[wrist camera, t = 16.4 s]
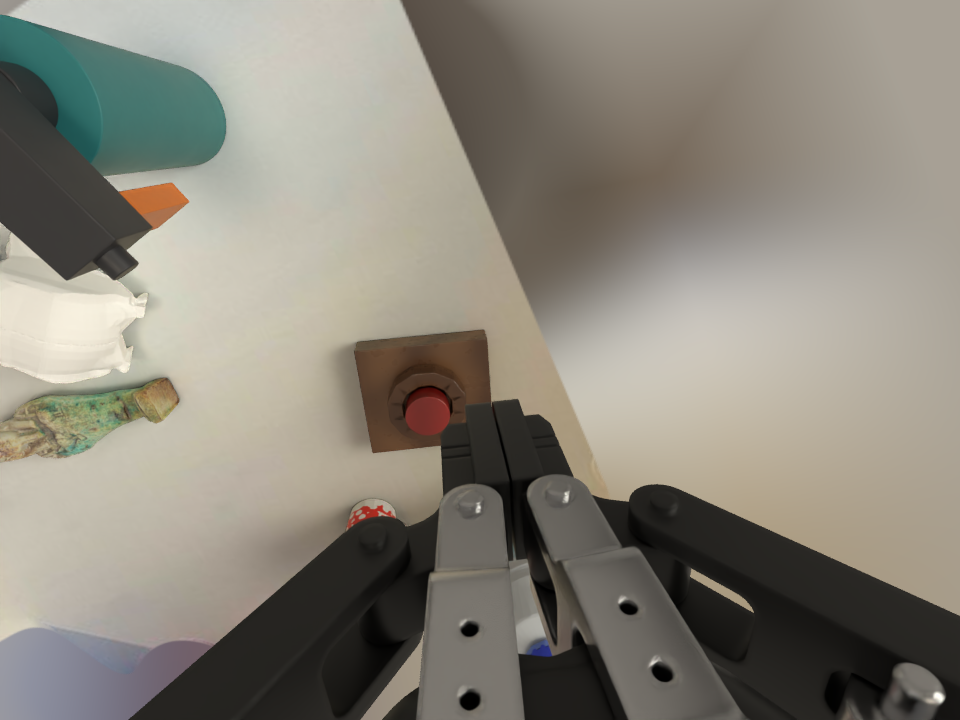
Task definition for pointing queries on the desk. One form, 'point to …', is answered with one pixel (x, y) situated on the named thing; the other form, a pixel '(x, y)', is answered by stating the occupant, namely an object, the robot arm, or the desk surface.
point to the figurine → (80, 420)
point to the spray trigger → (156, 202)
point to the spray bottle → (90, 141)
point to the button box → (419, 382)
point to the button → (427, 411)
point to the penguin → (62, 319)
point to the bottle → (526, 612)
